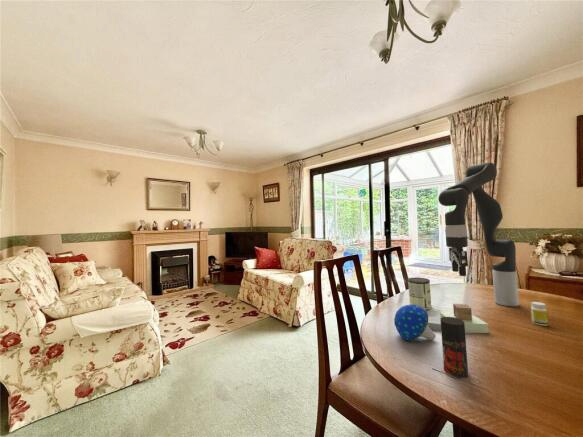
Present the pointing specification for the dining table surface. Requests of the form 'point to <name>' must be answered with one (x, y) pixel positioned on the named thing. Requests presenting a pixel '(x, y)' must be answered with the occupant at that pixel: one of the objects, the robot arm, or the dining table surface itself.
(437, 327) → the slate block
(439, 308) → the dining table surface
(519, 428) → the dining table surface
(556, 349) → the dining table surface
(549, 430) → the dining table surface
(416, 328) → the mushroom
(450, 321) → the deodorant
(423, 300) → the coffee can
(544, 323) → the supplement bottle
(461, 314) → the walnut cube
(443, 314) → the sage block
